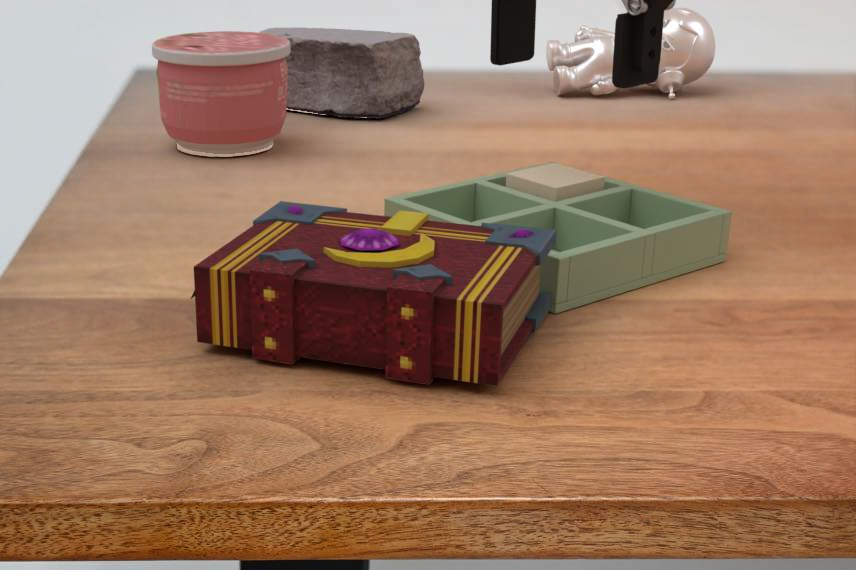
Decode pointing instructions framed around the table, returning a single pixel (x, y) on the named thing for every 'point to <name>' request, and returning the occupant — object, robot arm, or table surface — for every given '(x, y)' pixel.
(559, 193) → the block
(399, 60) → the decorative stone
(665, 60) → the figurine
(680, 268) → the grid
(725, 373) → the table surface
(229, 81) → the container
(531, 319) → the decorative book
